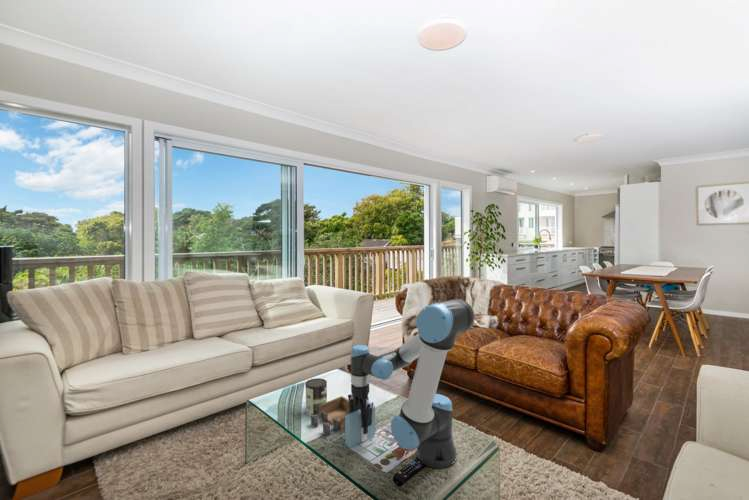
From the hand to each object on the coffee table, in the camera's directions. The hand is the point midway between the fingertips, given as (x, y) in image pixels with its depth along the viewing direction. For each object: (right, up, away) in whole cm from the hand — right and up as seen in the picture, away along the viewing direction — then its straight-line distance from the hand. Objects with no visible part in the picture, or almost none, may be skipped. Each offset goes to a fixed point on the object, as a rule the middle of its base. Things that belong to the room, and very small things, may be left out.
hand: (360, 438), depth 152 cm
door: (0, 0, 0) cm, 0 cm away
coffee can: (-22, 0, +24) cm, 33 cm away
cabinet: (-11, 0, +14) cm, 18 cm away
